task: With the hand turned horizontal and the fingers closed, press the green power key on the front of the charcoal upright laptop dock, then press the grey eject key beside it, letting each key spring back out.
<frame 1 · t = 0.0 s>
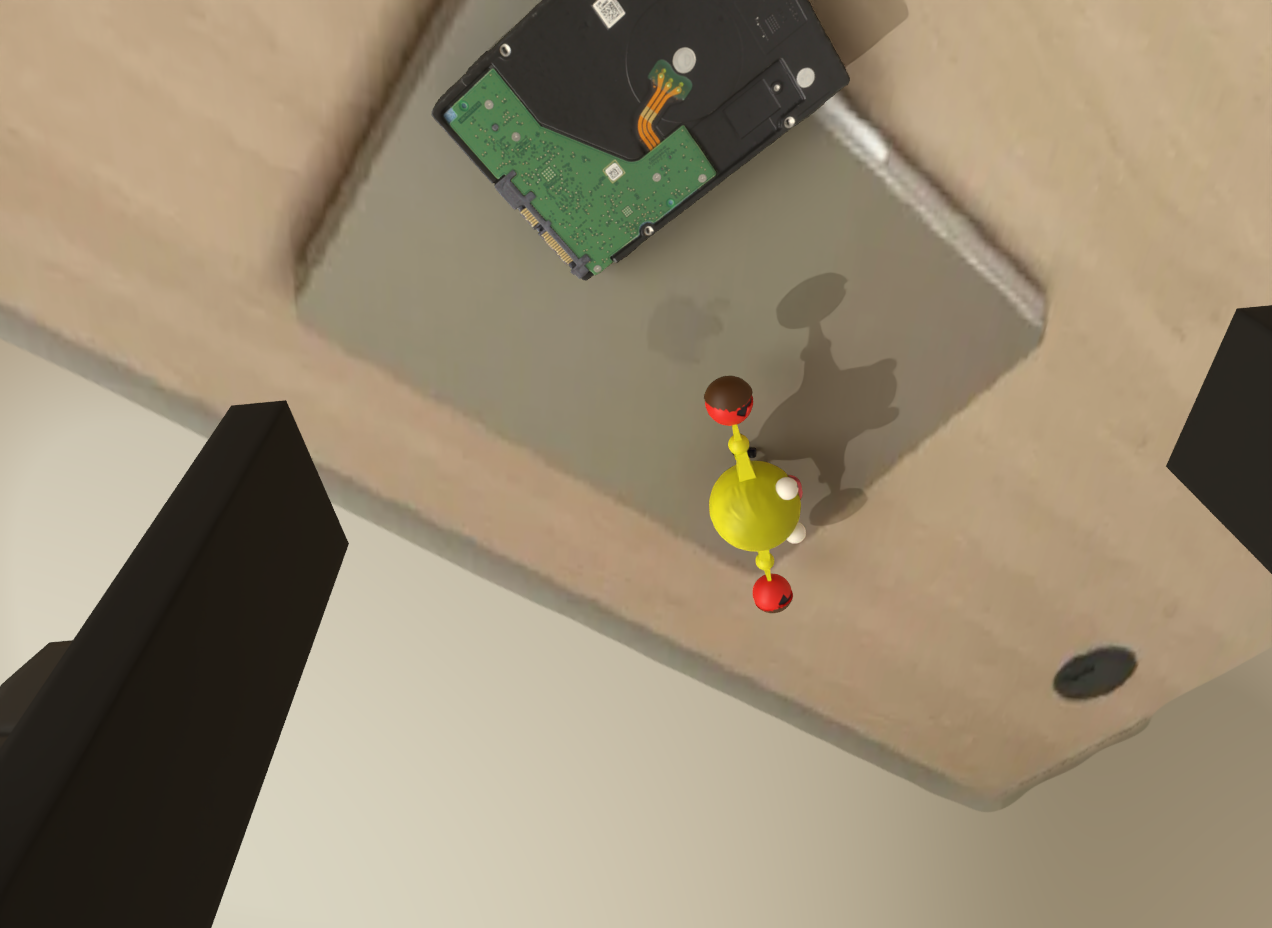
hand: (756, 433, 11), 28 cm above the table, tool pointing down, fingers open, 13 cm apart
toy figure: (744, 459, 47), on the table
disk drive: (637, 83, 34), on the table
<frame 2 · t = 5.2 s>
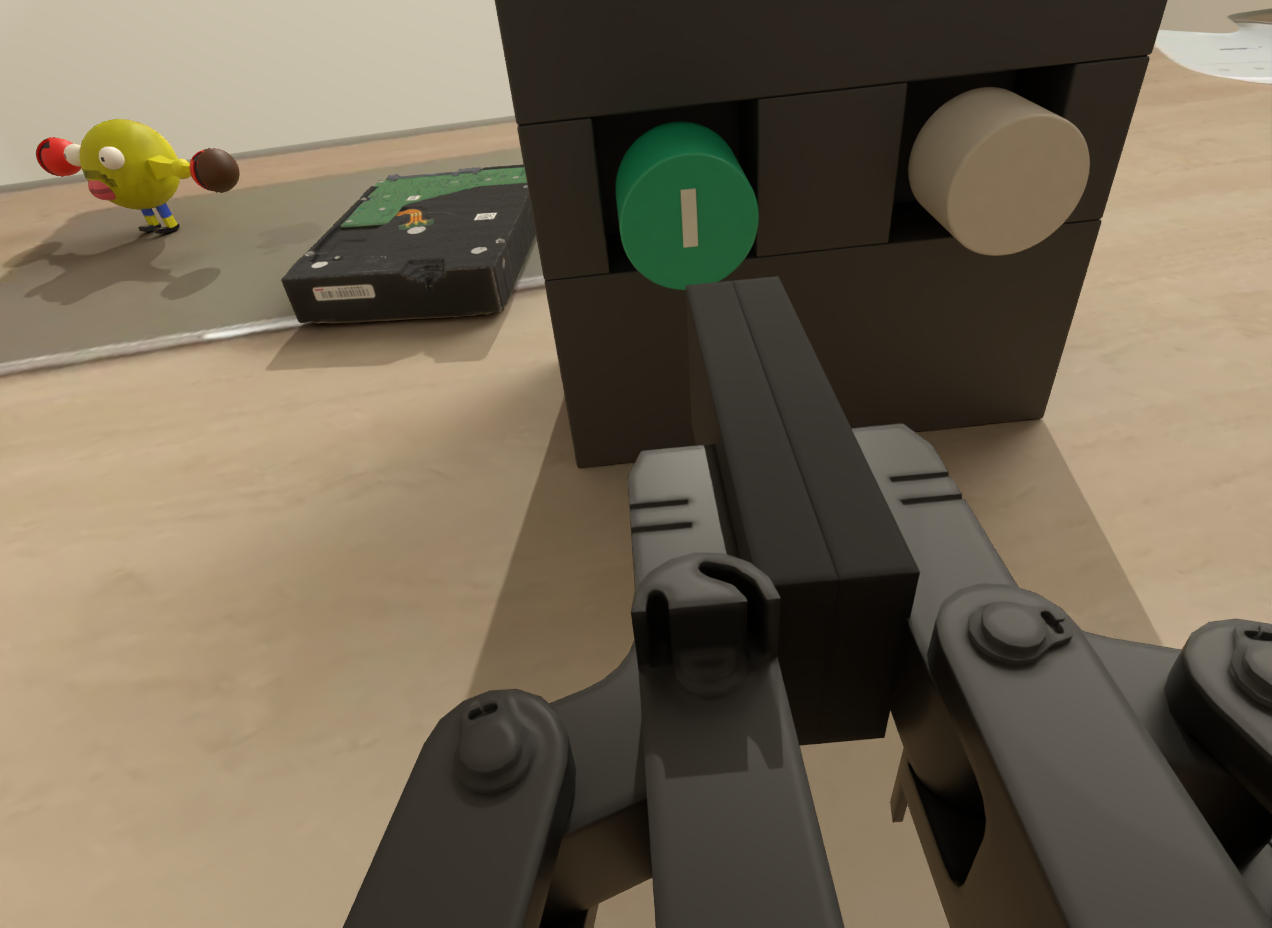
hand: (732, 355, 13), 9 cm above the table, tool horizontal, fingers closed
toy figure: (162, 233, 50), on the table
disk drive: (441, 263, 42), on the table
key power: (683, 205, 19), point 9 cm above the table, slide at 0.1 cm
dock: (784, 381, 29), on the table
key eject: (992, 171, 19), point 9 cm above the table, slide at 0.1 cm
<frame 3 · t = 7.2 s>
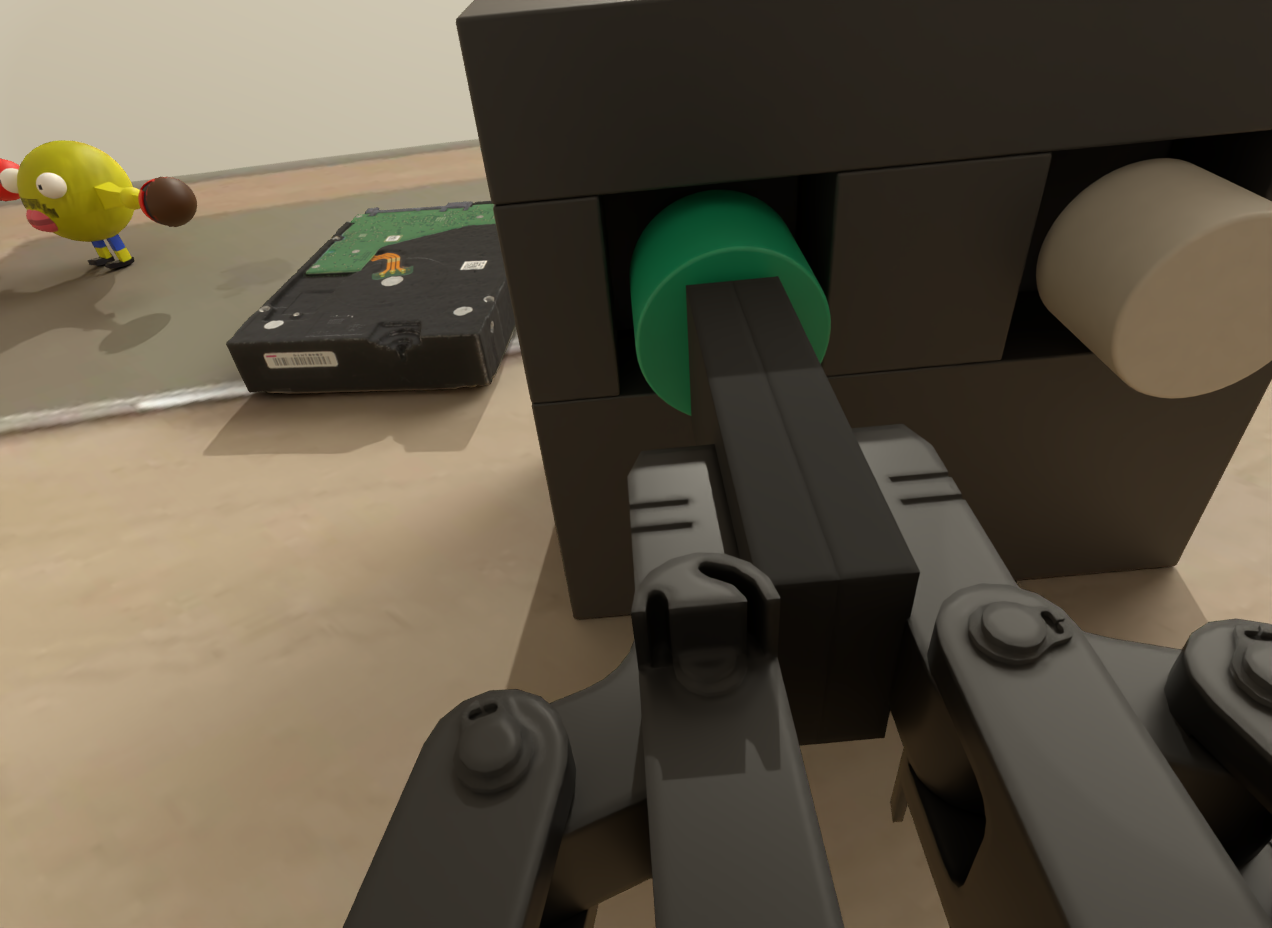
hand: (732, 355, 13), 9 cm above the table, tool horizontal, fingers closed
toy figure: (115, 267, 44), on the table
disk drive: (423, 315, 36), on the table
key power: (722, 305, 14), point 9 cm above the table, slide at -0.5 cm, touching gripper
dock: (835, 496, 23), on the table
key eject: (1167, 277, 14), point 9 cm above the table, slide at 0.1 cm
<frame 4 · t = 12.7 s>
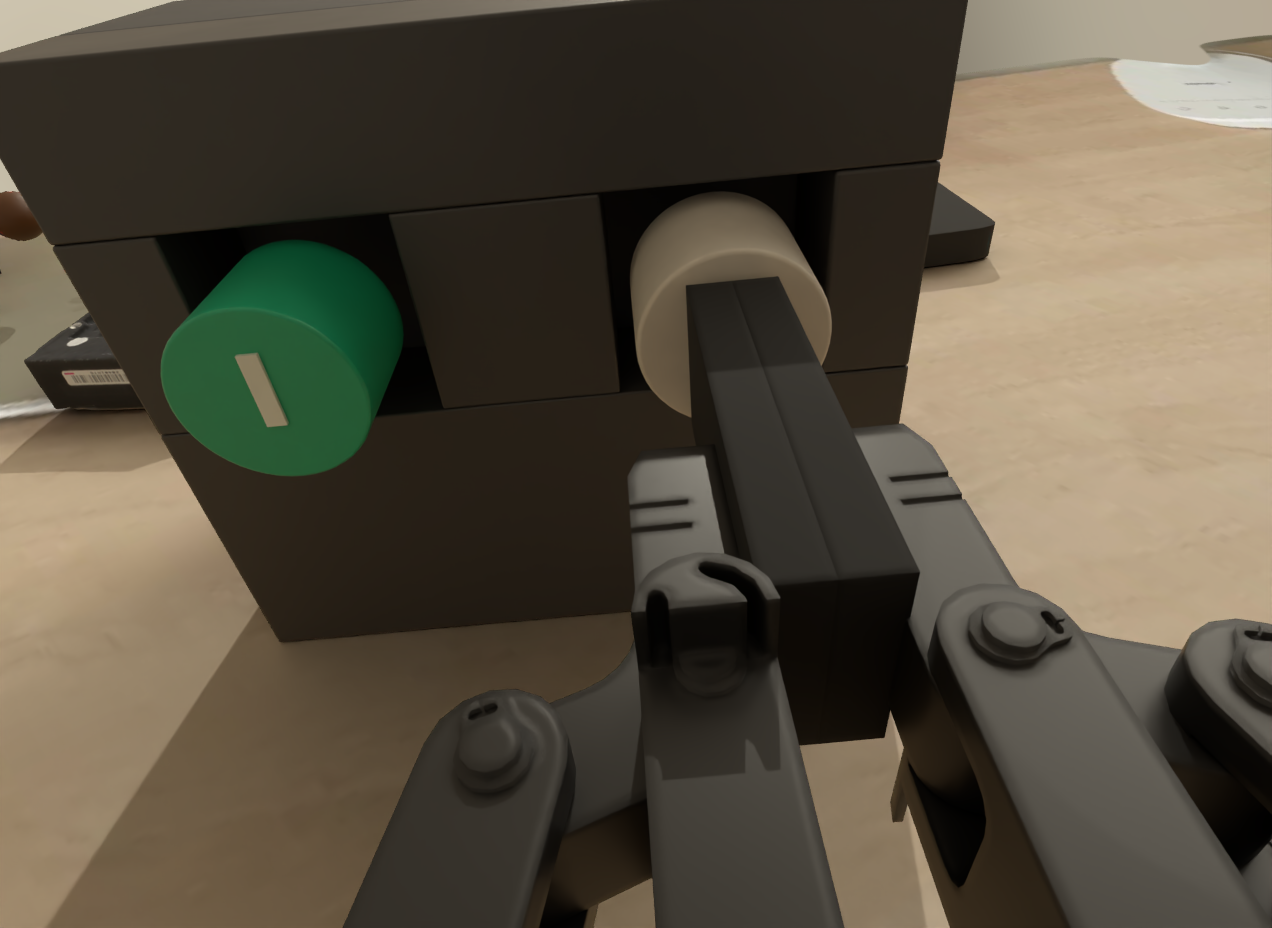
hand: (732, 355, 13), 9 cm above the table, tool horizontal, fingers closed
disk drive: (258, 330, 36), on the table
key power: (293, 358, 14), point 9 cm above the table, slide at 0.1 cm
smart home device: (761, 257, 38), on the table
dock: (576, 517, 23), on the table
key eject: (723, 306, 14), point 9 cm above the table, slide at -0.3 cm, touching gripper
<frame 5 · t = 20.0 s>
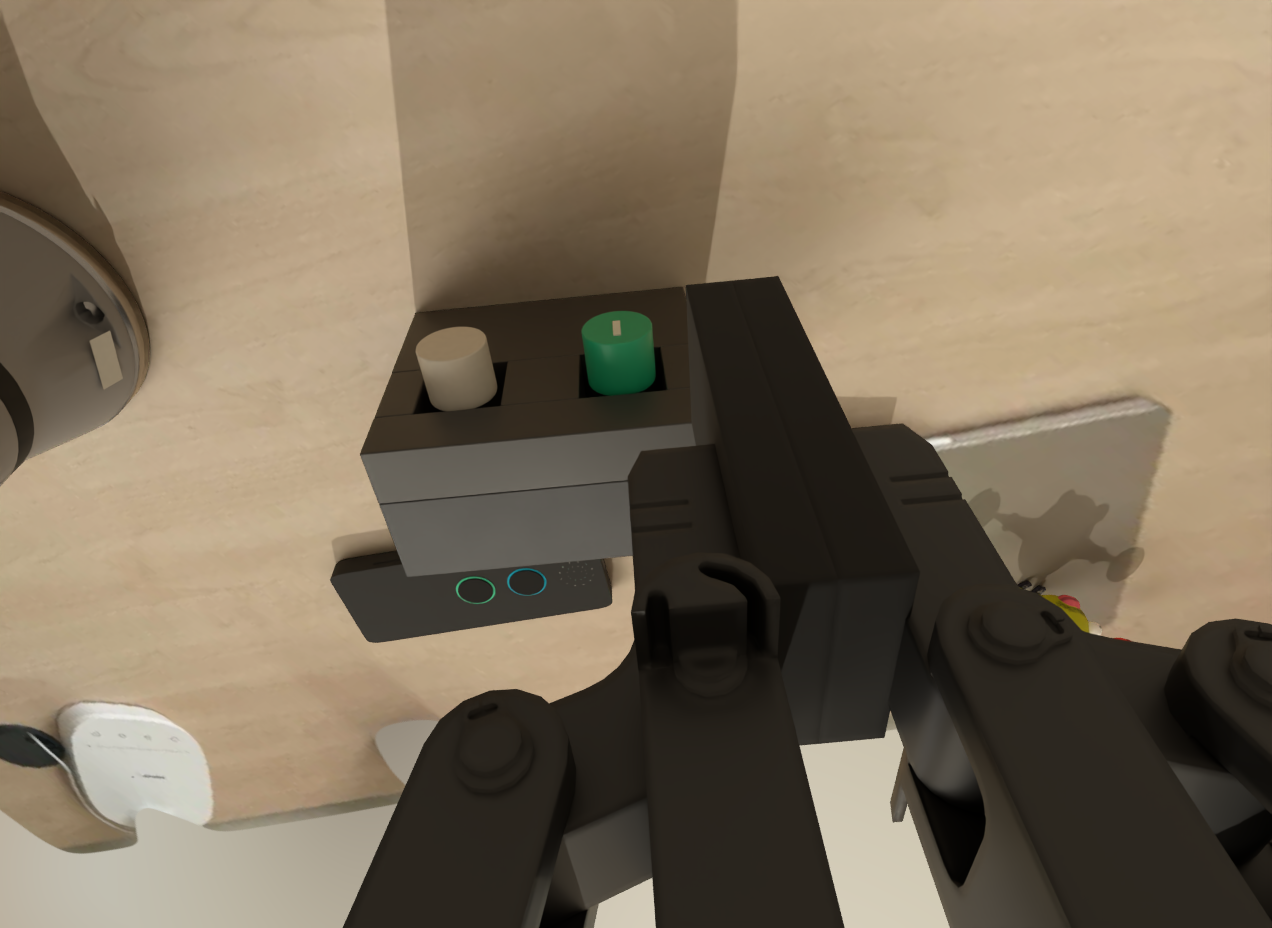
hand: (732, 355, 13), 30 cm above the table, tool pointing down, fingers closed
toy figure: (1027, 586, 63), on the table
key power: (619, 352, 37), point 9 cm above the table, slide at 0.1 cm
smart home device: (477, 574, 59), on the table
dock: (558, 358, 47), on the table
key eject: (457, 368, 37), point 9 cm above the table, slide at 0.1 cm
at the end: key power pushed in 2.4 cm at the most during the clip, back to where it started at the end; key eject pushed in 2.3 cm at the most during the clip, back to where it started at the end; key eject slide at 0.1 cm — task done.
